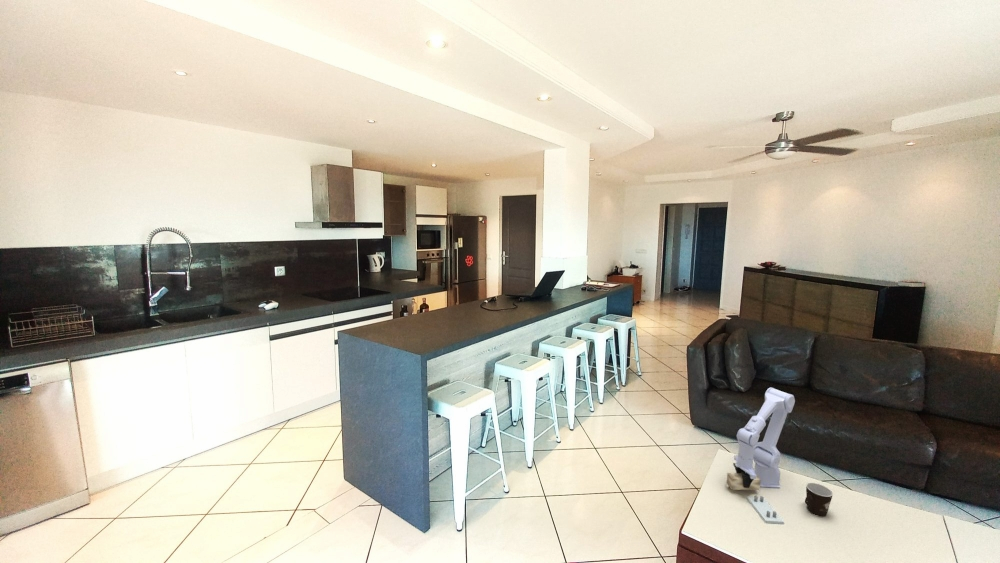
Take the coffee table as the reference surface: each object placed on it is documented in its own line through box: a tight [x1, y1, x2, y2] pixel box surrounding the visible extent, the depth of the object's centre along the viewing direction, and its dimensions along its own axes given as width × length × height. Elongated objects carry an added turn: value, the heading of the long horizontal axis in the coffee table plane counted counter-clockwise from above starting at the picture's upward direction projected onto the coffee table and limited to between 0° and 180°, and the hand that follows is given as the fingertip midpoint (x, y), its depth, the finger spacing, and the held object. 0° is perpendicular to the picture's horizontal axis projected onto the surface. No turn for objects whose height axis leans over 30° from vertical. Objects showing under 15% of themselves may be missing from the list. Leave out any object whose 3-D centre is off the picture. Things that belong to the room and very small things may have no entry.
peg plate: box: [746, 495, 785, 525], centre depth 163 cm, size 14×7×3 cm, turn 175°
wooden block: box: [726, 472, 761, 491], centre depth 175 cm, size 12×4×5 cm, turn 86°
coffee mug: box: [804, 482, 834, 518], centre depth 162 cm, size 12×9×10 cm
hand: (743, 483), depth 175 cm, fingers closed on wooden block, 4 cm apart
